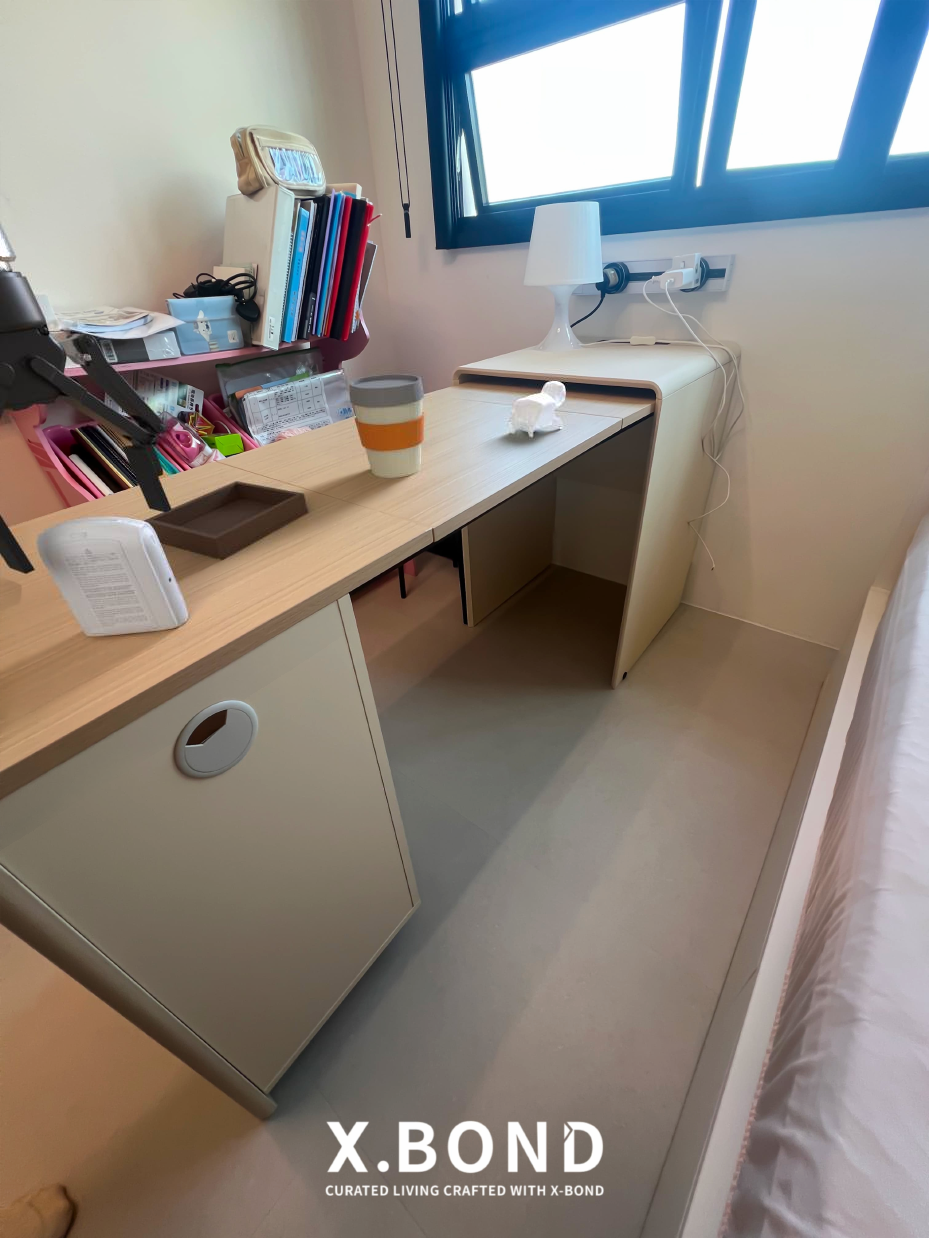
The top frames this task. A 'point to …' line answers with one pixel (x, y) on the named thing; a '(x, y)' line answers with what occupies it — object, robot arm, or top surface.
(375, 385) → the reusable coffee cup
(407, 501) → the top surface
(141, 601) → the photo printer
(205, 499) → the tray
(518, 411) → the white animal figurine
